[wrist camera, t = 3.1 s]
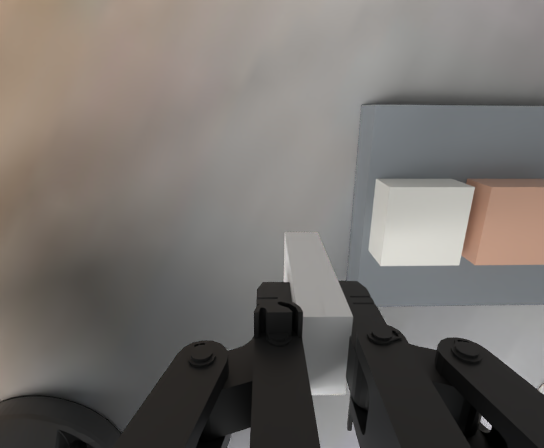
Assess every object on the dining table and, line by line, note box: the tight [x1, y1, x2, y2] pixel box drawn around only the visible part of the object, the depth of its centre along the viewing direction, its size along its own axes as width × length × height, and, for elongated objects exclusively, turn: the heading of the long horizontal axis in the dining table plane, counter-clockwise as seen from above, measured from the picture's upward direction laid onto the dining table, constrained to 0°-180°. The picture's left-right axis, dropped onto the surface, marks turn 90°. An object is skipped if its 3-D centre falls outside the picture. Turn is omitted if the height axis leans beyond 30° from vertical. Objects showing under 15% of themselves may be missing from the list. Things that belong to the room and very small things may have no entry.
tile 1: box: [461, 179, 544, 265], centre depth 22 cm, size 5×5×2 cm
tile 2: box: [368, 179, 475, 266], centre depth 22 cm, size 5×5×2 cm
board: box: [346, 105, 544, 307], centre depth 25 cm, size 15×14×3 cm
